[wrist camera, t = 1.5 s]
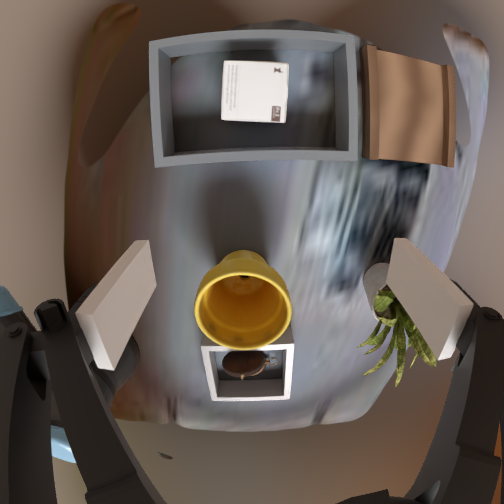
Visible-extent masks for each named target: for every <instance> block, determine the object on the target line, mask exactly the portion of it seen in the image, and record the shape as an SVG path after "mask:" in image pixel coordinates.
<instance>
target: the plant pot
mask: <svg viewBox="0 0 504 504" xmlns="http://www.w3.org/2000/svg"><path fill="white" fill-rule="evenodd" d="M241 275H248V276H249V277H248V278H243V277H241ZM194 315H195V319H196V322H197V324H198V326H199V327H200V329H201V330H202V332H203V333H204V334H205V335H206V336H207V337H208V338H210V339H211V340H212V341H214V342H215V343H217V344H219V345H221V346H224V347H227V348H231V349H236V350H252V349H257V348H261V347H264V346H266V345H268V344H270V343H272V342H274V341H275V340H276V339H278V338H279V337H280V336H281V335H282V334H283V333H284V331H285V330H286V329H287V327H288V325H289V323H290V320H291V315H292V306H291V301H290V296H289V293H288V290H287V287H286V284H285V282H284V280H283V279H282V277H281V276H280V275H279V273H278V272H277V271H275V270H274V269H273V268H272V267H270V266H269V265H268V264H267V263H266V261H265V260H264V259H263V258H262V257H261V256H260V255H259V254H257V253H255V252H252V251H249V250H238V251H234V252H232V253H230V254H228V255H227V256H225V257H224V258H223V260H222V261H221V262H220V263H219V264H218V265H216V266H215V267H213V268H212V269H211V270H210V271H208V273H207V274H206V275H205V276H204V278H203V279H202V281H201V283H200V286H199V288H198V291H197V295H196V298H195V303H194Z"/></svg>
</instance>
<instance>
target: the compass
mask: <svg viewBox="0 0 504 504" xmlns="http://www.w3.org/2000/svg"><path fill="white" fill-rule="evenodd" d="M272 358H274V357H272ZM269 359H271V358H269ZM269 359H268V360H269ZM274 359H276V358H274ZM268 360H267V361H266V357H265V356H264V354H263V353H262V352H260V351H231V352H229V353H228V354H227V355H226V356H225V357H224V359H223V361H222V365H223V368H224V371H225V372H226V373H227V374H229V375H231V376H234V377H241V379H242V380H243V377H247V376H254V375H257V374H259V373H261V372H262V371H263V370H264V369H265V368H266V364H268V363H270V360H269V361H268ZM276 360H277V363H278V359H276ZM277 363H276V364H277ZM276 364H274V365H276ZM268 365H270V364H268ZM271 366H273V365H271Z"/></svg>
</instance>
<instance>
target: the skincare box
mask: <svg viewBox="0 0 504 504" xmlns="http://www.w3.org/2000/svg"><path fill="white" fill-rule="evenodd" d="M288 75H289V64H288V63H284V62H270V61H224V65H223V77H222V97H221V119H222V120H227V121H249V122H275V123H285V121H286V111H287V97H288Z"/></svg>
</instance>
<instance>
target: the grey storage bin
mask: <svg viewBox="0 0 504 504" xmlns="http://www.w3.org/2000/svg"><path fill="white" fill-rule="evenodd" d="M238 50H302V51H318V52H329V53H333V61H334V81H335V118H336V148H334V147H249V148H228V149H212V150H198V151H187V152H176V153H175V146H174V132H173V116H172V95H171V62H170V58H171V57H177V56H184V55H192V54H200V53H210V52H222V51H238ZM149 80H150V106H151V123H152V138H153V150H154V161H155V168H156V167H166V166H176V165H187V164H200V163H214V162H232V161H257V160H338V161H357V157H358V96H357V71H356V55H355V42H354V36H351V35H344V34H336V33H327V32H316V31H302V30H233V31H219V32H208V33H199V34H191V35H184V36H178V37H171V38H166V39H160V40H155V41H150V42H149Z"/></svg>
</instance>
